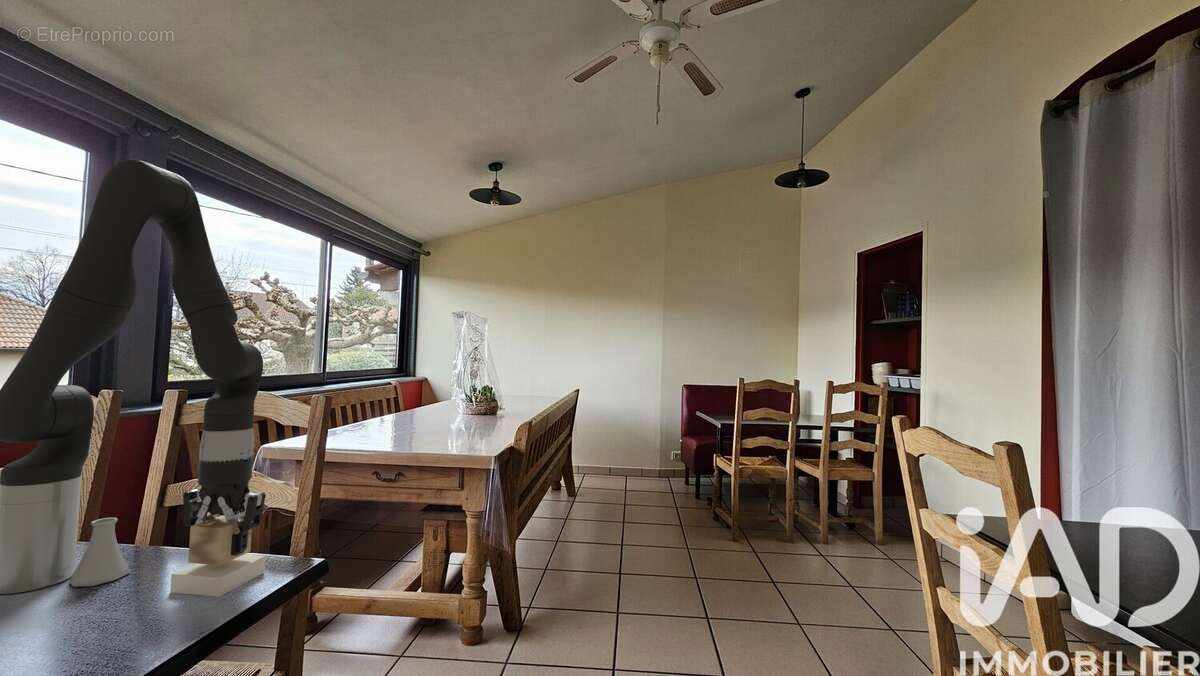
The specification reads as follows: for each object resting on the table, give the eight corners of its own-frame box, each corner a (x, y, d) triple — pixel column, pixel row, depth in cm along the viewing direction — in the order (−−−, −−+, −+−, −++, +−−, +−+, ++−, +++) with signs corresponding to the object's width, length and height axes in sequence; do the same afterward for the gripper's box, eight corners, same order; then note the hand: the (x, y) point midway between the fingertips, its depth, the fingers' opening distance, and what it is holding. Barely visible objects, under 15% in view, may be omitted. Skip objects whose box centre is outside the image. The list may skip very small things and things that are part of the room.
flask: (90, 590, 79) (94, 529, 80) (57, 585, 81) (62, 525, 81) (140, 572, 87) (144, 515, 87) (109, 567, 88) (113, 512, 89)
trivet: (170, 592, 79) (171, 573, 79) (219, 569, 88) (220, 552, 88) (219, 596, 78) (220, 577, 78) (264, 573, 87) (265, 556, 87)
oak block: (188, 562, 81) (190, 526, 81) (220, 549, 87) (222, 515, 87) (220, 565, 80) (222, 528, 80) (250, 551, 86) (252, 517, 86)
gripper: (169, 457, 82) (162, 558, 81) (246, 461, 80) (239, 564, 79) (209, 449, 89) (203, 542, 88) (281, 452, 87) (275, 547, 86)
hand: (220, 552), depth 84 cm, fingers closed on oak block, 6 cm apart
